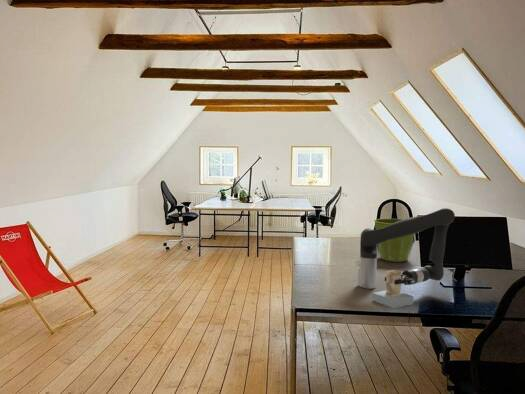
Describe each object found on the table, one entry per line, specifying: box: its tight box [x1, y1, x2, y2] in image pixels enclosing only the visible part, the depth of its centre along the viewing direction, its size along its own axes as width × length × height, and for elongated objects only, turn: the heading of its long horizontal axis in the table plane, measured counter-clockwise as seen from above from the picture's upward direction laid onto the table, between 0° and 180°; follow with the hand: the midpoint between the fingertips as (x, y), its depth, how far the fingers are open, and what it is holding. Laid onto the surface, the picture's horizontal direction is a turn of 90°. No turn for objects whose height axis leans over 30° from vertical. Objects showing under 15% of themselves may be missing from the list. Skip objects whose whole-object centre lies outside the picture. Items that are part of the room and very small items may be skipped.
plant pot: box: [374, 218, 415, 263], centre depth 322 cm, size 30×30×29 cm
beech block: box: [385, 269, 402, 297], centre depth 223 cm, size 5×5×12 cm
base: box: [372, 289, 414, 309], centre depth 223 cm, size 14×14×4 cm
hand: (390, 280), depth 221 cm, fingers open, 6 cm apart
